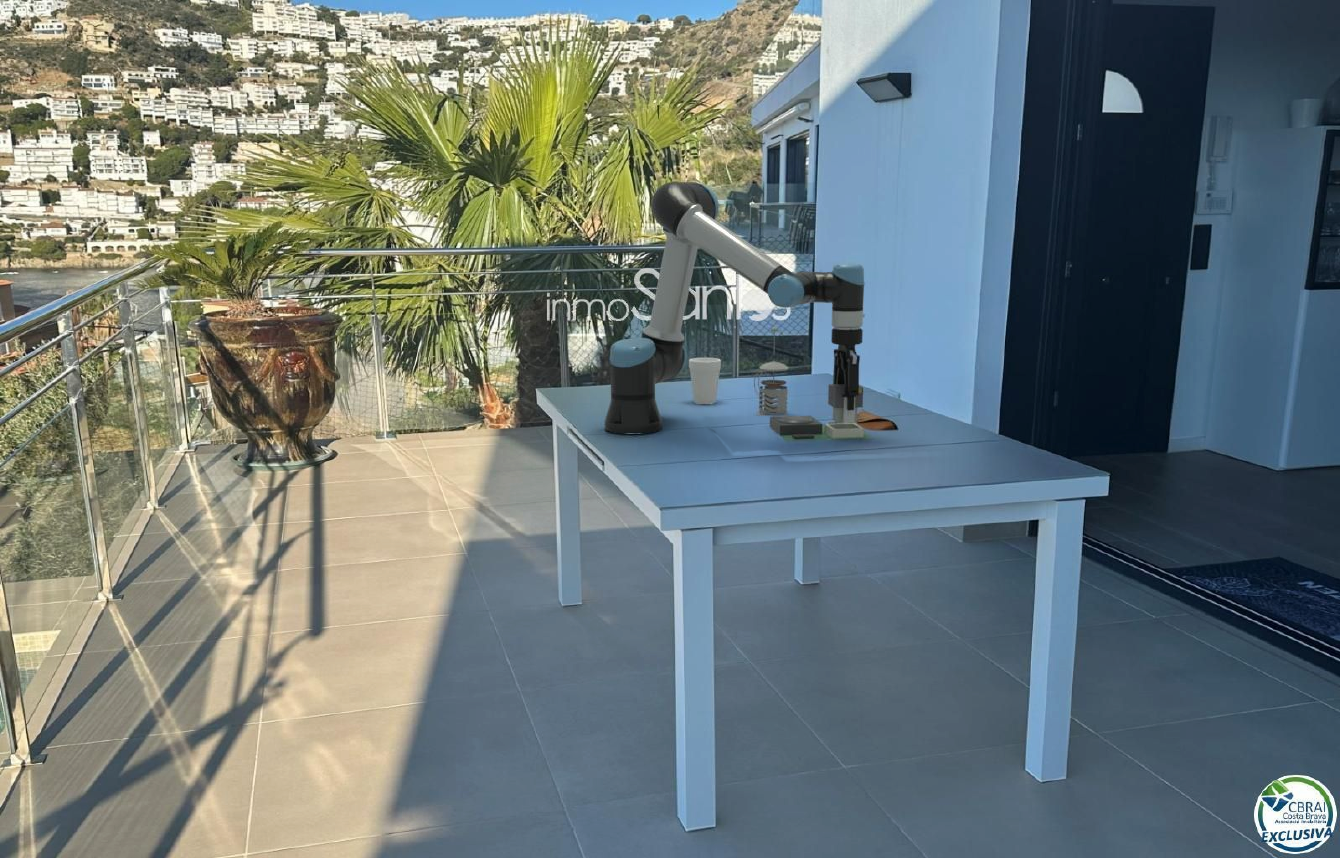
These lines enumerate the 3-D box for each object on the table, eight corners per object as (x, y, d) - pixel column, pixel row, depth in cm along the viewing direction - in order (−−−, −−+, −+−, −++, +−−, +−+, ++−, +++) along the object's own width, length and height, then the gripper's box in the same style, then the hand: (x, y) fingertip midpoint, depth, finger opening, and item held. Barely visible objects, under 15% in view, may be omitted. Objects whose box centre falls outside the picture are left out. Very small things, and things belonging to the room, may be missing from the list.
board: (786, 446, 251) (786, 434, 251) (769, 430, 269) (769, 420, 268) (873, 442, 254) (873, 431, 254) (850, 428, 272) (851, 417, 271)
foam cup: (726, 401, 310) (726, 359, 307) (710, 406, 302) (710, 363, 299) (699, 399, 315) (699, 356, 312) (683, 403, 307) (683, 360, 304)
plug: (834, 424, 254) (835, 388, 252) (827, 419, 260) (828, 384, 258) (862, 423, 255) (863, 387, 253) (854, 418, 261) (855, 383, 259)
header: (832, 438, 254) (832, 429, 254) (824, 432, 261) (824, 423, 261) (863, 437, 255) (863, 428, 255) (854, 431, 262) (855, 422, 262)
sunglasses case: (836, 422, 278) (848, 401, 278) (855, 434, 281) (867, 412, 281) (869, 436, 261) (882, 413, 261) (889, 448, 264) (902, 426, 264)
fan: (779, 435, 258) (779, 424, 257) (769, 426, 269) (769, 416, 268) (822, 433, 259) (822, 423, 259) (810, 424, 270) (810, 414, 270)
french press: (773, 421, 282) (775, 329, 276) (743, 414, 290) (744, 326, 285) (797, 416, 288) (799, 327, 283) (767, 410, 296) (769, 323, 291)
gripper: (874, 331, 244) (871, 427, 249) (850, 323, 262) (847, 412, 267) (843, 332, 243) (841, 428, 248) (821, 324, 261) (819, 413, 266)
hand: (844, 419), depth 257 cm, fingers closed on plug, 6 cm apart
